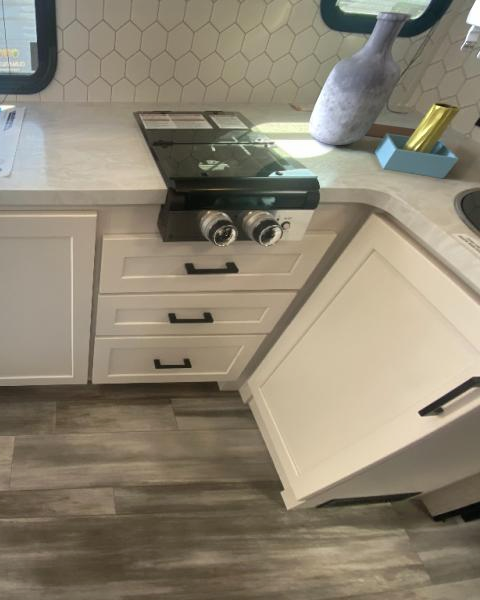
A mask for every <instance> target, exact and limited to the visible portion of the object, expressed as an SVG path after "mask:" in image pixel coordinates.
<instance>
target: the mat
mask: <svg viewBox="0 0 480 600" xmlns="http://www.w3.org/2000/svg"><path fill="white" fill-rule="evenodd" d="M415 130H416V129H415V128H411V127H405V126H397V125H389V124H381V123H374V124H373V125H372V126H371V128H370V129H369V131H368V132H367V133H366V134H365V135H364V137H365V136H366V137H373V138H380V139H382V138H383V137H384V135H385V134H386V133H387V134H394V135H401V136H409V137H411V136H412V134H413V133H414V131H415Z"/></svg>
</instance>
